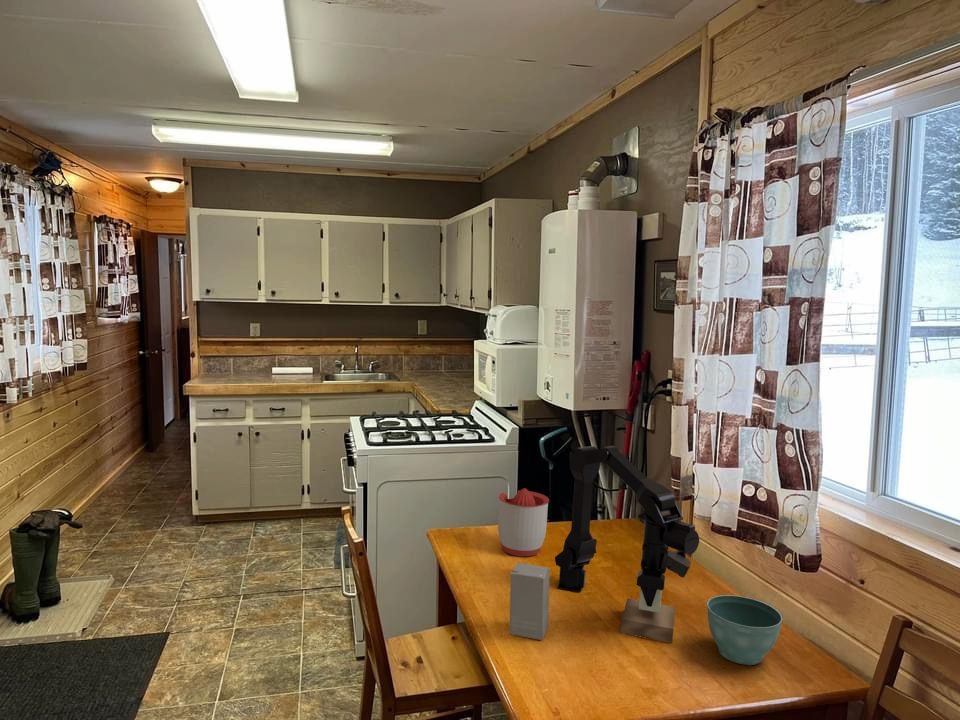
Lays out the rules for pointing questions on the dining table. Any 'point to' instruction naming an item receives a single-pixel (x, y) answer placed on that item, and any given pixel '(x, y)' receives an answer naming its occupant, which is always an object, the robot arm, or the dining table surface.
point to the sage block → (656, 602)
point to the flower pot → (743, 627)
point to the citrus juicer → (522, 522)
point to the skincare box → (529, 601)
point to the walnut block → (648, 621)
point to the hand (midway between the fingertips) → (650, 601)
